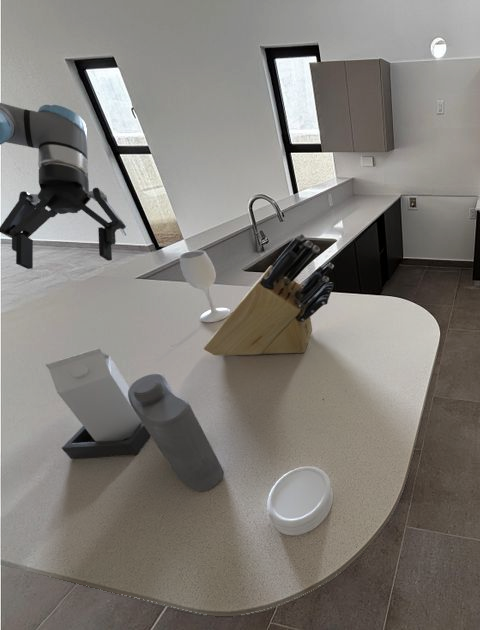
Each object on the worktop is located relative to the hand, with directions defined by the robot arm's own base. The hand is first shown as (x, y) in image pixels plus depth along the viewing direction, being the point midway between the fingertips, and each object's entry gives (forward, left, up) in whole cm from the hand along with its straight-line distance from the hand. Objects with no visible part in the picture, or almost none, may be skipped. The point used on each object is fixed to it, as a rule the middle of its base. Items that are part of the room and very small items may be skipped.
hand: (66, 262), depth 69 cm
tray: (+11, -20, -30) cm, 37 cm away
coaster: (+51, -38, -30) cm, 70 cm away
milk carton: (+11, -20, -29) cm, 37 cm away
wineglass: (+9, +26, -30) cm, 41 cm away
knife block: (+34, +9, -30) cm, 46 cm away
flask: (+29, -29, -30) cm, 51 cm away
